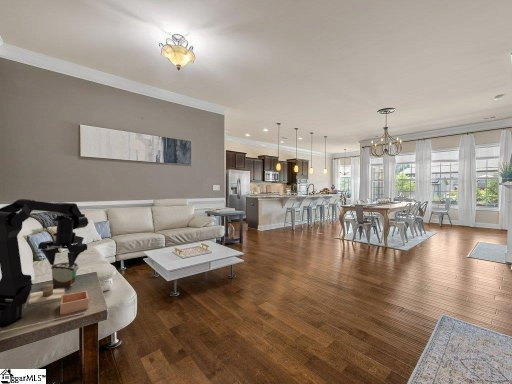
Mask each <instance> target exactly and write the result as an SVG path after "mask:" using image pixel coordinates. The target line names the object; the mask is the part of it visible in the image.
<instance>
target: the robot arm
mask: <svg viewBox="0 0 512 384" xmlns="http://www.w3.org/2000/svg"><path fill="white" fill-rule="evenodd" d="M33 211H39V212H48V213H52V214H54V215H57V216H56V217H54V218H53V220H52V221H53V222H57V223H56V229H55V230H56V231H55V232H53V234H52V235H53V237H55V240H45V241H41V242H40V243H39V244H38V247H37V250H40V252H42V253H43V255H44V256H45V258H46V259H47V261H48V263H49V265H50V266H52V265H54V264H55V261H56V260H55V259H56V253H57V251H58V249H62V250H63V249H65V250H67V251H68V252H67V260H68V261H67V262H69V267H72V266H73V264H74V263H76V261H77V258H78V257H79V255H80V254H81V253H84V252H85V251H88V245H87V243H83V241H84V239H85V238H84V237H83V236H78V235H76V232H74V230H77V229H82V228H86V227H87V226H88V225H89V219H88V218H87V216H86V214H85V213H81V210H80V208H79V207H78V204H77V203H75V202H63V201H62V202H61V201H60V202H49V201H40V200H34V199H29V198H28V199H27V198H20V199H17V200H16V201H13V202H12V203H10V204H7V205H4V206H2V207H0V274H1V278H0V329H4V328H7V327H9V326H11V325H12V324H15V323H17V322H19V321H21V320H23V319H25V317H24V316H22V314H23V305H25V303H26V302H27V299H28V296H29V295H31V291H32V286H33V285H34V283H33V282H32V279H33V278H32V275H31V274H25V273H23V269H22V262H21V260H22V259H21V253H20V247H19V239H18V235H19V234H20V233H21V231H22V229H23V223H24V222H25V221H26V220H28V219H29V218H30V216H31V213H32V212H33Z"/></svg>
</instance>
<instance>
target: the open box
mask: <svg viewBox="0 0 512 384" xmlns="http://www.w3.org/2000/svg"><path fill="white" fill-rule="evenodd" d="M89 301H90V298H89V294H88V290H82V291H78V292H73V293H67V294H66V295H61V301H60V305H59V306H60V308H59V309H60V310H59V313H60V314H59V315H64V314H65V315H66V314H70V313H74V312H78V311H82V310H86V309H89Z"/></svg>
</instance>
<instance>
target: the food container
mask: <svg viewBox="0 0 512 384" xmlns="http://www.w3.org/2000/svg"><path fill="white" fill-rule="evenodd" d="M50 266H51V267H50V269H51V276H52V278H51V279H52V281H51V284H53V286H61V287H62V286H63V287H72V286H74V285H75V282H76V277H77V271H78V270H79V269H80V268H79V264H78V263H77V262H74V264H73V266H72V267H69V262H68V261H67V262H66V261H65V262H58V263H54V264H53V265H50Z"/></svg>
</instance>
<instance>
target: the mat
mask: <svg viewBox="0 0 512 384" xmlns="http://www.w3.org/2000/svg"><path fill="white" fill-rule="evenodd" d="M66 294H68V288H64V295H66ZM30 295H31V294H29V296H28V299H27V302H26V303H25V304H24V306H23V309H29V308H33V307H39V306H44V305H47V304H48V305H49V304H53V303H58V302H61V300H59V301H54V302H49V303H44V304H38V305H33V306H28V302H29V299H30Z"/></svg>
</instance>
